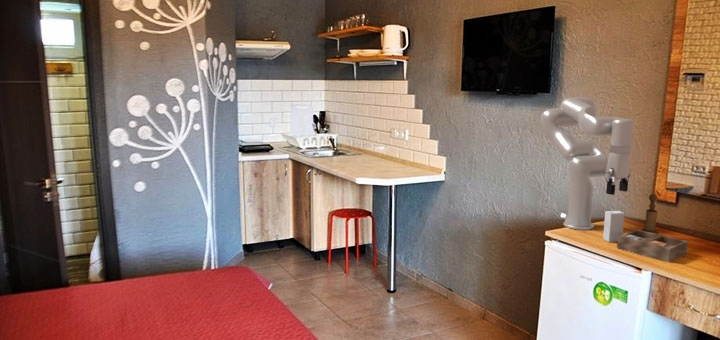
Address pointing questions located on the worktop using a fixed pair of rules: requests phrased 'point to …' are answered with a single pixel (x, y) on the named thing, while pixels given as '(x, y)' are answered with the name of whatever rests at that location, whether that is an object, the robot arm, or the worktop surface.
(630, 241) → the socket block
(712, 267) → the worktop surface
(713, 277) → the worktop surface
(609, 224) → the skincare box
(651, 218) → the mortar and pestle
